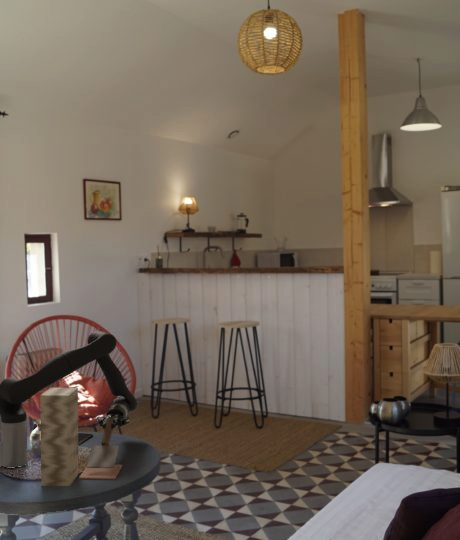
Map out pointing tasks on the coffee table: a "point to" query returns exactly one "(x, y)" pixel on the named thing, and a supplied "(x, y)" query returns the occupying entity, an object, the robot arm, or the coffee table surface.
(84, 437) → the phone
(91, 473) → the tile
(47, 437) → the stand
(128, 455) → the coffee table surface
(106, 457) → the turner
